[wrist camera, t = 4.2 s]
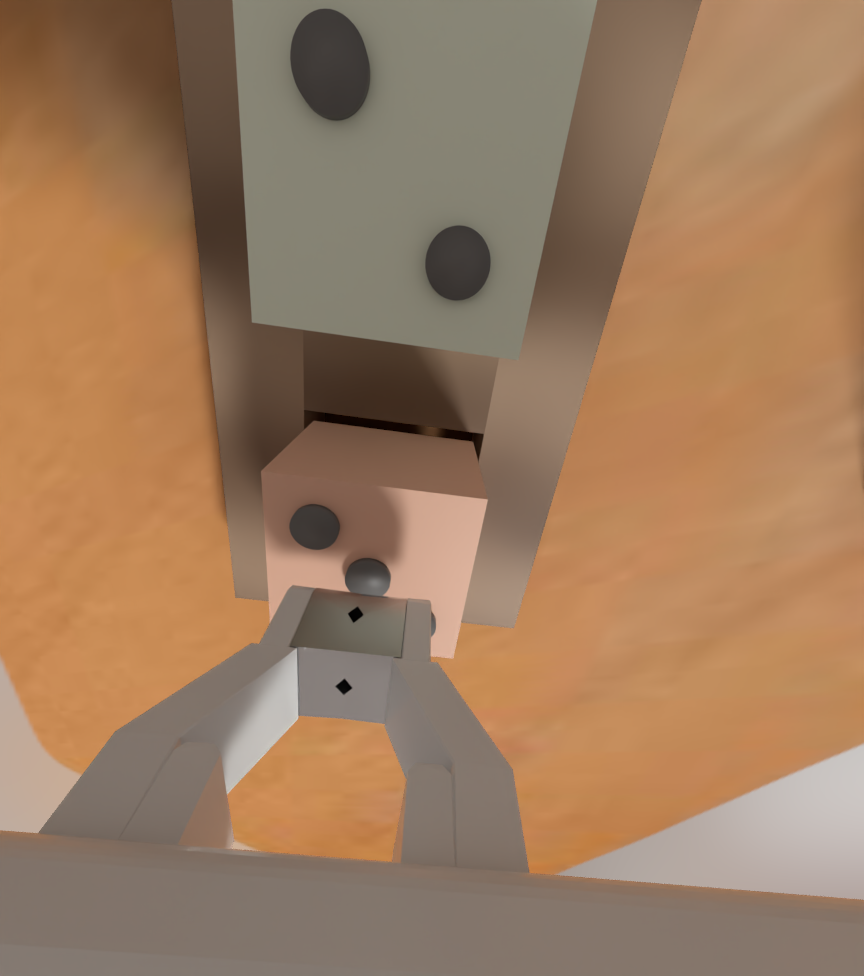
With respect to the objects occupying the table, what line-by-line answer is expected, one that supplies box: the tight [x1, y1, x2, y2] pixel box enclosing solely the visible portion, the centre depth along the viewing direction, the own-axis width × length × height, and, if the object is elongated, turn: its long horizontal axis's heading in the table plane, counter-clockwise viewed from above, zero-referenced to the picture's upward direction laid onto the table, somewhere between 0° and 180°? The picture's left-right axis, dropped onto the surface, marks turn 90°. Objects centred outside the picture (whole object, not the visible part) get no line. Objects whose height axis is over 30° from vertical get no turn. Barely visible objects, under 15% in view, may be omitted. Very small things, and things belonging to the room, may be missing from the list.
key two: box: [232, 0, 597, 360], centre depth 8 cm, size 5×5×4 cm
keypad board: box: [171, 0, 702, 628], centre depth 11 cm, size 26×11×2 cm, turn 172°
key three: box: [261, 421, 488, 658], centre depth 11 cm, size 5×5×4 cm
